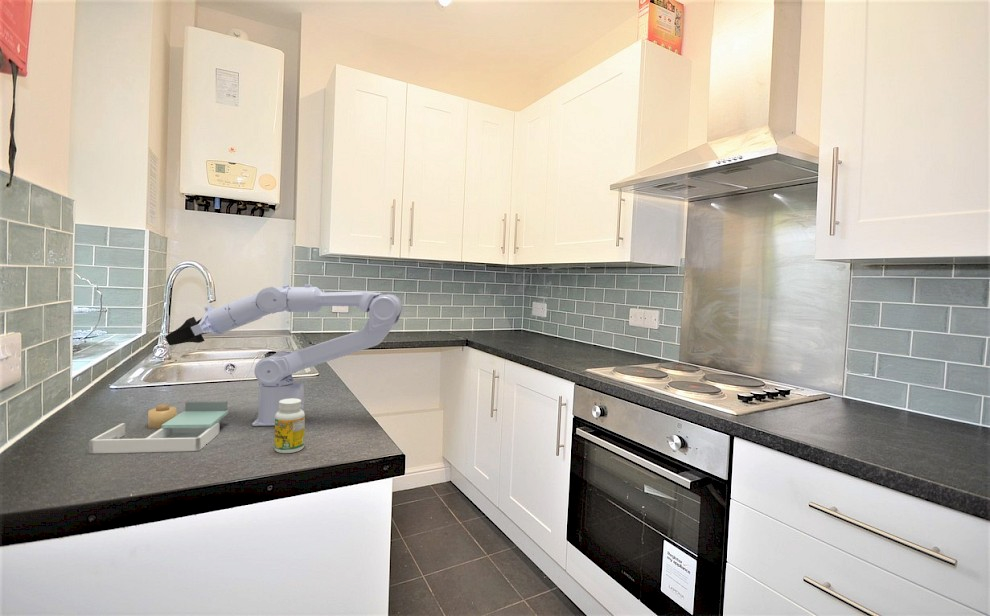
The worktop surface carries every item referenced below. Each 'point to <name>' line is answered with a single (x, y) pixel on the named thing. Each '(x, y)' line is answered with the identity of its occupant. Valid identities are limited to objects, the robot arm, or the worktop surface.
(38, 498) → the worktop surface
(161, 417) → the domed oval button
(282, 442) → the supplement bottle
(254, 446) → the worktop surface
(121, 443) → the housing
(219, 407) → the lid
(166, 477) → the worktop surface
